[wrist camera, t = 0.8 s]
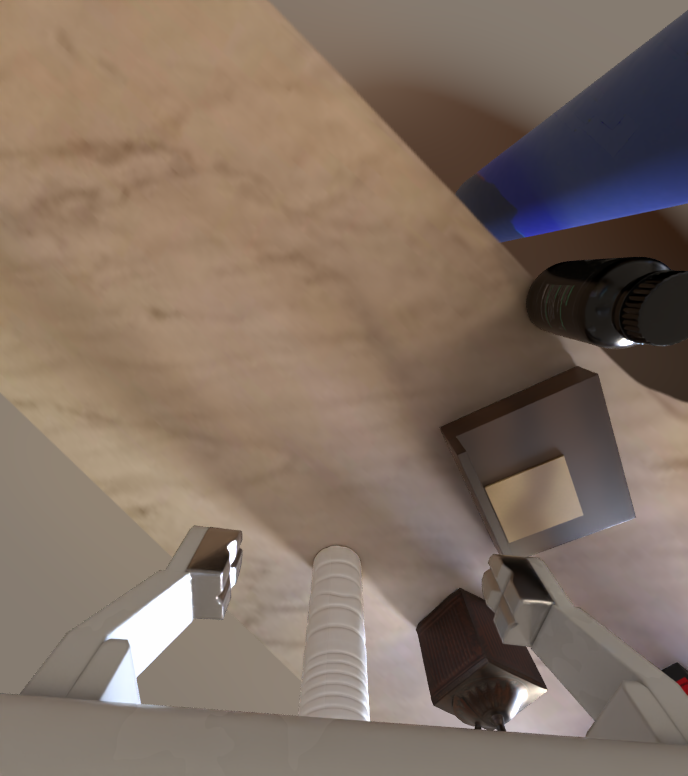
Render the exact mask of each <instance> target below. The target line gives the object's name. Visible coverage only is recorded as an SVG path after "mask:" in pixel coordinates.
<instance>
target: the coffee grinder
mask: <svg viewBox="0 0 688 776" xmlns="http://www.w3.org/2000/svg"><path fill="white" fill-rule="evenodd" d="M494 615H495V613H494V612H493V611H492V610H491V609H490V608H489V607H488V606H487V604H486V602H485V600H484V599H482V598H480V597H478V596H476V595H473V594H471V593H469V592H467V591H465V590H463V589H461V588H459V589H458V590H456V591H455V592H454V593H452V594H451V595H450V596H449V597H448V598H446V599H445V600H444V601H443V602H442V603H441V604H440V605H439V606H438V607H436V608H435V609H434V610H433V611H432V612H431V613H430V614H429V615H428V616H427V617H426V618H424V619H423V620H422V621H421V622H420V623H419V624H418V626H417V628H416V631H417V633H418V637H419V642H420V647H421V652H422V657H423V662H424V666H425V671H426V676H427V681H428V685H429V690H430V695H431V700H432V703H433V705H434V706H436V707H438V708H440V709H442V710H444V711H446V712H448V713H450V714H453V715H455V716H456V717H457V718H458V719H459V720H461V721H462V722H463V723H465V724H468V725H471V726H475V729H480V730H481V727H482V728H484V729H486V730H494V729H497V731H506V729H505V726H504V724H506V723H507V722H509V721H510V720H511V719H512V718H513V717H514V716H515V715H516V714H517V713H519V712H520V711H521V710H523V709H524V708H526V707H527V706H528V705H530V704H531V703H532V702H534V701H535V700H536V699H537V698H539V697H540V696H541V695H542V694H544V693H545V692H546V691H547V687H546V685H545V683H544V681H543V679H542V677H541V675H540V673H539V671H538V669H537V667H536V665H535V663H534V661H533V659H532V657H531V655H530V653H529V651H528V650H527V648H526V646H519V645H510V644H503V643H502V640H501V638H500V635H499V633H498V631H497V628H496V626H495V624H494V621H493V619H494Z"/></svg>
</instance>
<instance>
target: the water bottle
mask: <svg viewBox="0 0 688 776" xmlns="http://www.w3.org/2000/svg"><path fill="white" fill-rule="evenodd" d="M361 578H362V573H361V562H360V558H359V556H358V555H357V554H356V553H355V552H354V551H353V550H352V549H350V548H348V547H344V546H343V547H341V546H330V547H328V548H324V549H323V550H321V551H320V552H319V553H318V554H317V556H316V557H315V559H314V563H313V572H312V583H311V595H310V601H309V612H308V625H307V630H306V645H305V650H304V660H303V673H302V683H301V693H300V703H299V714H298V716H308V717H321V718H335V719H348V720H361V721H370V717H369V703H368V702H369V697H368V683H367V657H366V647H365V628H364V611H363V595H362V580H361Z"/></svg>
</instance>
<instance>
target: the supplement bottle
mask: <svg viewBox="0 0 688 776" xmlns="http://www.w3.org/2000/svg"><path fill="white" fill-rule="evenodd" d="M526 308H527V313H528V316H529V318H530V320H531V321H532V323H533V324H534V325H535V326H536V327H538V328H539V329H541V330H543V331H546V332H549V333H553V334H556V335H560V336H563V337H567V338H570V339H574V340H577V341H581V342H585V343H588V344H592V345H595V346H599V347H603V348H608V349H622V348H628V347H632V346H635V345H638V344H649V345H653V346H666V345H673V344H675V343H679V342H681V341H682V340H686V339H687V338H688V271H674V270H671V269H670V268H668V266H666V265H665V264H664V263H662V262H660V261H658V260H655V259H652V258H647V257H627V258H611V259H595V260H581V261H579V260H578V261H567V262H561V263H558V264H555V265H553V266H551V267H549V268H548V269H546V270H545V271H543V272H542V273H541V274H540V275H539V276H538V277H537V278H536V279H535V281H534V282H533V284H532V285H531V287H530V289H529V292H528V295H527V301H526Z"/></svg>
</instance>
